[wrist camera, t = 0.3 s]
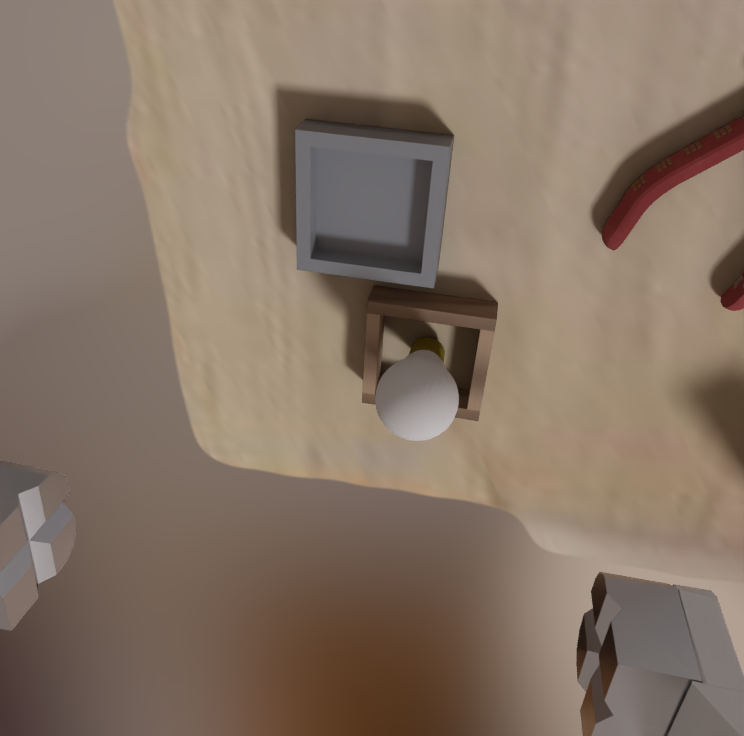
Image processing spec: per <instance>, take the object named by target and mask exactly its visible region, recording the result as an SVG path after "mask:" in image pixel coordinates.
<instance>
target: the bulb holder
mask: <svg viewBox="0 0 744 736" xmlns="http://www.w3.org/2000/svg"><path fill="white" fill-rule="evenodd" d="M497 309H498V303H497V302H490V301H482V300H475V299H468V298H461V297H453V296H446V295H439V294H432V293H425V292H417V291H410V290H403V289H396V288H388V287H381V286H373V289H372V291H371V294H370V296H369V299H368V301H367V319H366V337H365V355H364V374H363V392H362V403H368V404H374V405H376V402H375V396H376V389H377V386H378V383H379V381H380V379H381V377H380V375H381V361H382V347H383V333H384V319H385V316H390V317H397V318H404V319H411V320H418V321H425V322H432V323H439V324H446V325H453V326H460V327H467V328H474V329H480V331H479V337H478V343H477V349H476V355H475V361H474V367H473V373H472V379H471V385H470V391H469V390H462V389H458V394H459V404H458V409H457V413H456V415H455V417H456V418H462V419H468V420H474V421H478V419H479V413H480V408H481V402H482V397H483V392H484V386H485V381H486V375H487V370H488V364H489V359H490V353H491V348H492V342H493V337H494V331H495V326H496V320H497Z"/></svg>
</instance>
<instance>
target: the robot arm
mask: <svg viewBox="0 0 744 736" xmlns="http://www.w3.org/2000/svg"><path fill="white" fill-rule="evenodd" d="M69 494H70V492H69V487H68V483H67V479H66V476H64V475H62V474H60V473H58V472H55V471H50V470H46V469H41V468H36V467H31V466H27V465H22V464H17V463H12V462H8V461H3V460H1V461H0V629H5V630H10V631H11V630H12V629H13V628H14V627H15V626H16V624H17V623H18V622H19V621H20V619H21V618H22V617H23V616H24V614H25V613H26V612H27V611H28V610H29V608H30V607H31V606H32V605H33V603H34V602H35V601H36V600H37V598H38V597H39V587H38V584H39V583H41V582H43V581H44V580H47V579H48V578H50V577H53V576H54V575H57V573H58V572H59V571H60V569H61V568H62V567H63V565H64V564H65V562H66V561H67V560H68V557H69V555H70V552H71V550H72V547H73V545H74V542H75V532H76V526H75V519H74V515H73V514H72V513H71V512H70V511H69V509H68V508H67V507H66V506H65V505H64V503H63V502H64V501H65V499H66V498H67V497H68V495H69ZM591 596H592V604H593V609H591V610H589V611H588V612H586V613H584V615H583V619H582V623H581V626H580V630H579V636H578V643H577V662H576V664H577V665H576V666H577V679H578V682H579V684H580V685H581V686H582V688H583V689H584V690H585V692H586V694H585V697H584V700H583V703H582V706H581V709H580V713H581V722H582V734H583V736H744V675H743V672H742V669H741V666H740V663H739V661H738V657H737V654H736V651H735V649H734V646H733V643H732V640H731V637H730V634H729V631H728V628H727V625H726V623H725V619H724V617H723V614H722V611H721V608H720V605H719V602H718V599H717V596H716V595H715V594H714V593H713V592H712V591H710V590H704V589H698V588H692V587H686V586H680V585H670V584H666V583H660V582H655V581H649V580H643V579H638V578H631V577H626V576H621V575H615V574H609V573H603V572H599V574H598V575H597V577H596V578H595V581H594V584H593V587H592V590H591Z"/></svg>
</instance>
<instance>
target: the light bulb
mask: <svg viewBox="0 0 744 736" xmlns="http://www.w3.org/2000/svg"><path fill="white" fill-rule="evenodd" d="M443 362H444V348H443V346H442V344H441V343H440V342H439V341H437V340H435V339H433V338H429V337H425V338H420V339H418V340H417V341H415V342H414V343H413V345H412V348H411V350H410V353H409V355H408V356H407V357H406V358H405V359H403V360H401V361H399V362H397V363H395V364H393V365H392V366H391V367H390V368H388V369H387V371H386V372H385V373H384V374H383V375H382V377H381V379H380V381H379V383H378V386H377V389H376V396H375V402H376V409H377V412H378V415H379V417H380V419H381V421H382V422H383V424H384V425H385V426H386V427H387V428H388V430H390V431H391V432H392V433H393V434H395V435H397V436H399V437H401V438H403V439H406V440H411V441H423V440H428V439H431V438H434V437H436V436H438V435H439V434H441V433H442V432H443V431H445V430H446V429H447V428H448V427H449V425H450V424H451V423H452V421H453V420H454V418H455V415H456V413H457V409H458V404H459V394H458V389H457V385H456V383H455V380H454V379H453V377H452V375H451V374H450V373H449V372H448V370H447V369H446V368H445V366H444V363H443Z"/></svg>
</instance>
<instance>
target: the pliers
mask: <svg viewBox="0 0 744 736" xmlns="http://www.w3.org/2000/svg"><path fill="white" fill-rule="evenodd" d="M742 150H744V116H742V117H740V118H738V119H736V120H735V121H733V122H731V123H729V124H727V125H726V126H724V127H722V128H720V129H718V130H716V131H715V132H713V133H711V134H709V135H707V136H706V137H704V138H702V139H700V140H698V141H696V142H695V143H693V144H691V145H689V146H687V147H686V148H684V149H682V150H680V151H678V152H676V153H675V154H673V155H671V156H669V157H667V158H666V159H664V160H662V161H661V162H659V163H658V164H656V165H655V166H653V167H652V168H651V169H649V170H648V171H647V172H645V173H644V174H643V175H641V176H640V177H639V178H638V179H637V180H636V181H635V182H634V183H633V184H632V185H631V186H630V187H629V188H628V190H627V192H626V193H625V195H624V196H623V198H622V199H621V201H620V202H619V204H618V205H617V207H616V208H615V210H614V211H613V213H612V214H611V216H610V217H609V219H608V220H607V222H606V223H605V225H604V227H603V231H602V239H603V242H604V244H605V245H606V246H607V247H608V248H610V249H612V250H616V249H617V248H618V247H619V246H620V245H621V244H622V243H623V241H624V240H625V239H626V237H627V236H628V234H629V233H630V232H631V230H632V229H633V227H634V226H635V224H636V223H637V222H638V220H639V219H640V217H641V216H642V214H643V213H644V212H645V211H646V209H647V208H648V207H649V206H650V205H651V204H652V203H653V202H654V201H655V200H657V199H658V198H659V197H660V196H662V195H663V194H664V193H666V192H667V191H669V190H670V189H672V188H673V187H675V186H677V185H678V184H680V183H682V182H684V181H686V180H688V179H689V178H691V177H693V176H695V175H697V174H699V173H701V172H703V171H705V170H706V169H708V168H710V167H712V166H714V165H716V164H718V163H720V162H722V161H723V160H725V159H727V158H729V157H731V156H733V155H735V154H737V153H739V152H741V151H742ZM721 303H722V306H723V307H725V308H726V309H729V310H732V311H736V310H741V309H743V308H744V273H743V274H742V275H741V276H740V277H739V278H738V279H737V280H736V282H735V283H734V284H733V285H732V286H731V287H730V288H729V289H728V290H727V291H726V292H725V293H724V294H723V295H722V296H721Z"/></svg>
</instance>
